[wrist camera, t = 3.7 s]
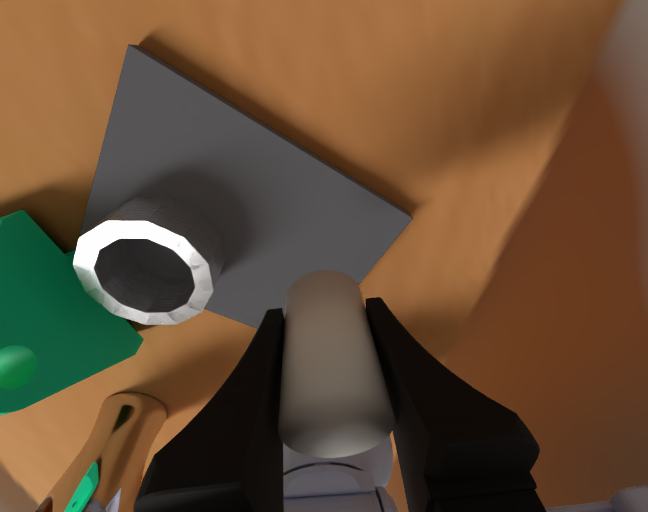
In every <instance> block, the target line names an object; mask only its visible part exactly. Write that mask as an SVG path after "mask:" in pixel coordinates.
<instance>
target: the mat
mask: <svg viewBox="0 0 648 512" xmlns="http://www.w3.org/2000/svg"><path fill="white" fill-rule="evenodd" d="M136 196H172V197H174V198H176V199H179V200H181V201H183V202H185V203H187V204H189V205H191V206H193V207H195V208H197V209H199V210H202V211H203V213H204V214H205V215H206V216H207V217H208V219H209V220H210V221H211V222H212V223H213V225H214V226H215V227H216V228H217V229H218V231H219V232H220V233H221V235H222V240H223V247H224V253H225V262H224V264H223V267H222V270H221V272H220V275H219V278H218V280H217V283H216V286H215V288H214V291H213V293H212V295H211V296H210V298H209V300H208V302H207V304H206V305H205V307H204V309H206V310H209V311H212V312H214V313H217V314H220V315H222V316H225V317H228V318H230V319H233V320H236V321H238V322H241V323H244V324H247V325H249V326H252V327H255V328H257V329H258V328H259V326H260V324H261V322H262V320H263V318H264V315H265V313H266V311H267V310H268V309H277V308H282V310H283V314H284V319H285V305H286V295H287V292H288V290H289V288H290V287H291V285H292V284H293V283H294V282H295V281H296V280H297V279H299V278H300V277H302V276H303V275H305V274H308V273H310V272H314V271H319V270H333V271H338V272H341V273H344V274H346V275H348V276H349V277H351V278H352V279H353V280H354V281H355V282H356V283H357V284H359V283H360V282H361V281H362V280H363V278H364V277H365V276H366V275H367V274H368V272H369V271H370V270H371V269H372V268H373V266H374V265H375V264H376V263H377V261H378V260H379V259H380V258H381V257H382V255H383V254H384V253H385V252H386V251H387V249H388V248H389V247H390V246H391V245H392V243H393V242H394V241H395V240H396V238H397V237H398V236H399V235H400V234H401V232H402V231H403V230H404V229H405V228H406V226H407V225H408V224H409V223H410V222H411V220H412V219H413V218H412V216H411V215H410V214H409V212H407V211H406V210H404V209H402V208H401V207H399V206H398V205H396V204H394V203H393V202H391V201H389V200H388V199H386V198H385V197H383V196H381V195H380V194H378V193H376V192H375V191H373V190H372V189H370V188H368V187H367V186H365V185H363V184H362V183H360V182H359V181H357V180H355V179H354V178H352V177H350V176H349V175H347V174H346V173H344V172H342V171H341V170H339V169H337V168H336V167H334V166H333V165H331V164H329V163H328V162H326V161H325V160H323V159H321V158H320V157H318V156H316V155H315V154H313V153H312V152H310V151H308V150H307V149H305V148H303V147H302V146H300V145H299V144H297V143H295V142H294V141H292V140H290V139H289V138H287V137H286V136H284V135H282V134H281V133H279V132H277V131H276V130H274V129H273V128H271V127H269V126H268V125H266V124H264V123H263V122H261V121H260V120H258V119H256V118H255V117H253V116H251V115H250V114H248V113H247V112H245V111H243V110H242V109H240V108H238V107H237V106H235V105H234V104H232V103H230V102H229V101H227V100H226V99H224V98H222V97H221V96H219V95H217V94H216V93H214V92H213V91H211V90H209V89H208V88H206V87H204V86H203V85H201V84H200V83H198V82H196V81H195V80H193V79H191V78H190V77H188V76H187V75H185V74H183V73H182V72H180V71H178V70H177V69H175V68H174V67H172V66H170V65H169V64H167V63H165V62H164V61H162V60H161V59H159V58H157V57H156V56H154V55H152V54H151V53H149V52H148V51H146V50H144V49H143V48H141V47H140V46H138V45H129V44H128V47H127V51H126V55H125V59H124V63H123V67H122V71H121V75H120V79H119V83H118V87H117V90H116V94H115V98H114V102H113V106H112V110H111V114H110V118H109V122H108V126H107V130H106V133H105V137H104V141H103V145H102V149H101V153H100V157H99V161H98V165H97V169H96V173H95V176H94V180H93V184H92V188H91V192H90V196H89V200H88V204H87V208H86V212H85V216H84V219H83V223H82V227H81V231H80V235H79V238H80V237H81V236H82V235H83V234H85V233H86V232H87V231H88V230H90V229H91V228H92V227H93V226H95V225H96V224H97V223H98V222H100V221H101V220H102V219H103V218H105V217H106V216H107V215H108V214H110V213H111V212H112V211H113V210H115V209H117V208H118V207H120V206H121V205H123V204H125V203H126V202H128V201H130V200H131V199H133V198H134V197H136ZM124 239H125V242H126V245H127V248H128V251H129V254H130V256H131V257H132V258H133V259H134V260H135V261H136V262H137V263H138V264H139V265H140V266H141V267H142V268H144V269H145V270H146V271H148V272H150V273H153V274H155V275H158V276H160V277H163V278H166V279H187V278H189V277H191V276H193V275H192V271H191V268H190V267H189V266H188V264H187V263H186V262H185V261H184V260H183V259H182V258H181V257H180V256H179V255H178V254H177V253H176V252H175V251H174V250H173V249H171V248H168V247H166V246H164V245H161V244H159V243H156V242H154V241H152V240H149V239H147V238H124ZM78 241H79V239H78ZM77 245H78V243H77ZM76 249H77V247H76ZM75 253H76V251H75ZM74 257H75V255H74ZM73 260H74V258H73Z"/></svg>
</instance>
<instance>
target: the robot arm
mask: <svg viewBox="0 0 648 512" xmlns="http://www.w3.org/2000/svg"><path fill="white" fill-rule="evenodd" d="M366 312H367V316H368V320H369V324H370V327H371V331H372V335H373V339H374V342H375V346H376V350H377V354H378V357H379V361H380V365H381V369H382V372H383V376H384V380H385V384H386V387H387V391H388V395H389V399H390V402H391V406H392V410H393V414H394V417H395V424H394V427H393V435H394V440H395V444H396V449H397V454H398V459H399V464H400V468H401V473H402V478H403V483H404V488H405V493H406V499H407V504H408V509H409V512H648V485H645V486H636V487H629V488H624V489H622V490H619V491H617V492H616V493H615V494H614V495H613V496H612V497H611V499H610V501H605V502H596V503H587V504H579V505H570V506H563V507H553V508H544V506H543V504H542V502H541V501H540V499H539V497H538V495H537V493H536V491H535V490H534V489H536V488H537V486H536V483H535V481H534V479H533V477H532V476H531V474H530V470H531V469H532V467H533V465H534V463H535V462H536V460H537V458H538V455H539V451H540V449H539V445H538V444H537V442H536V440H535V439H534V437H533V435H532V434H531V432H530V431H529V430H528V428H527V427H526V425H525V424H524V423H523V421H521V419H520V418H519V417H518V415H517V414H516V413H514V412H513V411H511V410H509V409H508V408H506V407H504V406H502V405H501V404H499V403H497V402H495V401H494V400H492V399H490V398H488V397H487V396H485V395H484V394H482V393H481V392H479V391H478V390H476V389H474V388H472V386H470V385H469V384H467V383H466V382H465V381H463V380H462V379H460V378H459V377H458V376H456V375H455V374H454V373H452V372H451V371H450V370H448V369H447V368H446V367H445V366H443V365H442V364H441V363H440V362H439V361H438V360H436V359H435V358H434V357H433V356H432V355H431V354H430V353H428V352H427V351H426V350H425V349H424V348H423V347H422V346H421V345H420V344H419V343H418V342H417V341H416V340H415V339H414V338H413V337H412V336H411V335H410V333H409V332H408V331H407V330H406V329H405V328H404V327H403V326H402V324H401V323H400V322H399V321H398V320H397V319H396V317H395V316H394V315H393V313H392V312H391V311H390V310H389V308H388V307H387V305H386V304H385V303H384V301H383V300H382V299H381V298H380V297H377V298H368V299H366ZM284 322H285V319H284V314H283V310H282V308H277V309H268V310H267V311H266V313H265V315H264V318H263V320H262V322H261V324H260V326H259V328H258V330H257V332H256V334H255V336H254V338H253V340H252V341H251V343H250V345H249V347H248V348H247V350H246V352H245V353H244V355H243V356H242V358H241V360H240V361H239V363H238V364H237V366H236V367H235V369H234V370H233V372H232V373H231V375H230V376H229V377H228V379H227V380H226V381H225V383H224V384H223V385H222V387H221V388H220V389H219V390H218V391H217V393H216V394H215V395H214V396H213V397H212V399H211V400H210V401H209V402H208V403H207V404H206V406H205V407H204V408H203V409H202V410H201V411H200V412H199V413H198V414H197V415H196V416H195V417H194V418H193V419H192V420H191V421H190V422H189V424H188V425H187V426H186V427H185V428H184V429H183V430H182V431H181V432H179V433H178V434H177V435H176V436H175V437H174V438H173V439H172V440H171V441H170V442H168V443H167V444H166V445H165V446H164V447H163V448H162V449H161V450H160V451H158V452H157V453H156V454H155V455H154V457H153V459H152V461H151V463H150V465H149V467H148V469H147V471H146V474H145V476H144V478H143V481H142V484H141V486H140V489H139V492H138V494H137V497H136V500H135V502H134V505H133V511H134V512H398V510H397V507H396V504H395V502H394V500H393V498H392V497H391V496H390V495H389V493H388V492H387V491H386V490H385V487H386V485H387V483H388V481H389V479H390V475H391V471H392V463H393V450H392V443H391V439H390V435H389V436H388V437H387V438H386V439H385V440H384V441H383V442H381V443H380V444H378V445H377V446H375V447H373V448H371V449H369V450H367V451H364V452H362V453H358V454H355V455H351V456H345V457H337V458H319V457H312V456H307V455H303V454H300V453H298V452H295V451H294V450H292V449H290V448H289V447H287V446H286V445H285V444H284V443H283V442H282V440H281V439H280V437H279V433H278V425H279V408H280V391H281V374H282V356H283V339H284Z"/></svg>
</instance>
